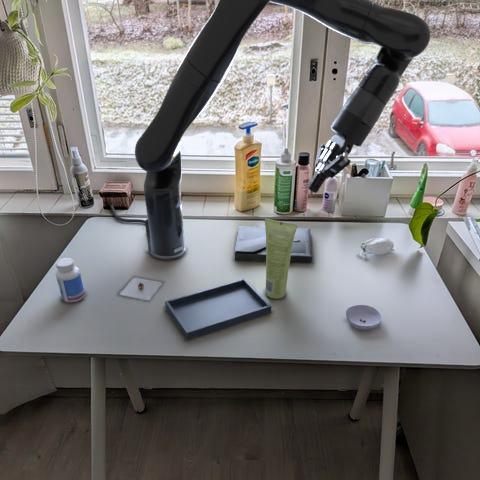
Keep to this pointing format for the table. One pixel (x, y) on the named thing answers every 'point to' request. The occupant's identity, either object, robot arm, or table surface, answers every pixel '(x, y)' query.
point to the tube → (278, 256)
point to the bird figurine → (376, 246)
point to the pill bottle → (69, 280)
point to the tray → (216, 308)
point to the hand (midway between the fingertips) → (311, 190)
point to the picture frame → (254, 245)
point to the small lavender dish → (363, 317)
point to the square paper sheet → (141, 288)
